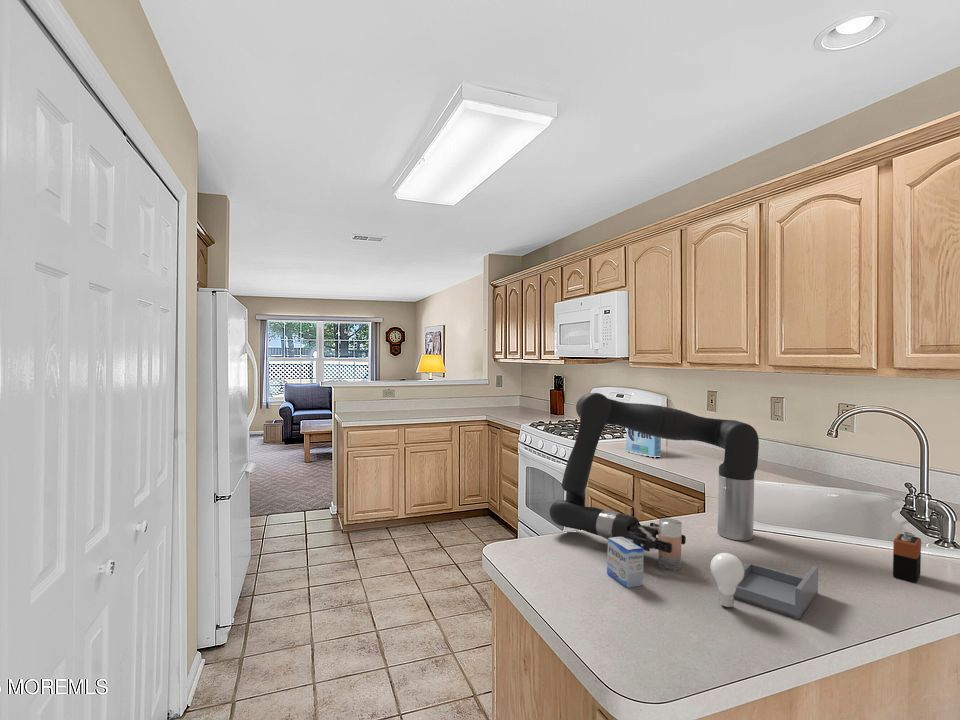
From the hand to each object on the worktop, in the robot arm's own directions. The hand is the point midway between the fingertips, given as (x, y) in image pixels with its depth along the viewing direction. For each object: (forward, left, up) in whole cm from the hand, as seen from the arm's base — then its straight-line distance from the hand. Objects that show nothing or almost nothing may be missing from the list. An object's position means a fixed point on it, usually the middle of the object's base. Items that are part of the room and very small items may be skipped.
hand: (678, 544), depth 121 cm
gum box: (-127, -73, -6) cm, 147 cm away
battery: (-36, +40, -6) cm, 54 cm away
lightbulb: (+11, +15, -6) cm, 20 cm away
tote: (-2, +20, -6) cm, 21 cm away
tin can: (0, -2, -6) cm, 6 cm away
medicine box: (+15, -6, -6) cm, 17 cm away
